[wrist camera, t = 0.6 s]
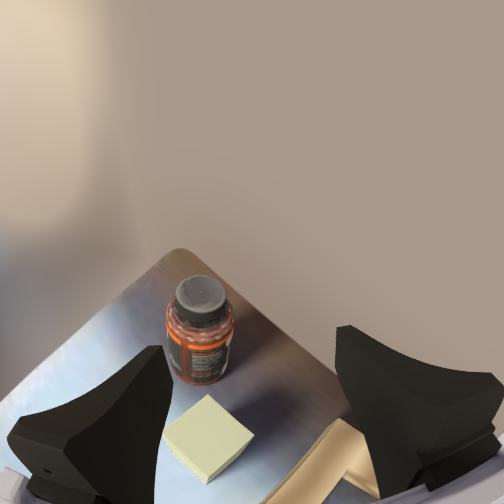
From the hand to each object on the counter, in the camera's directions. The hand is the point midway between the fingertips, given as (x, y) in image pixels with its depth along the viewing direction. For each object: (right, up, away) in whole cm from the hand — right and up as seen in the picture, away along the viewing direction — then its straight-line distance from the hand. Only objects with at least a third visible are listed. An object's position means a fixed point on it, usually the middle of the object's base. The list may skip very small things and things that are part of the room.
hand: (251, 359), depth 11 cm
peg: (-4, -14, +10) cm, 18 cm away
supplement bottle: (-6, -8, +18) cm, 21 cm away
